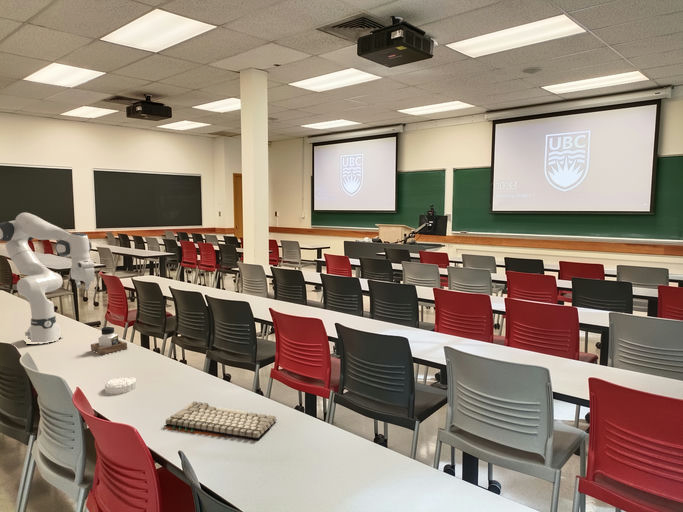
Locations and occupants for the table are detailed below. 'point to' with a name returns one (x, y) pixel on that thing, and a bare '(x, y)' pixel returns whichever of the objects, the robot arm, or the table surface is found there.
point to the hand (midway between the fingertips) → (83, 288)
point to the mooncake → (120, 385)
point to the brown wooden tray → (109, 348)
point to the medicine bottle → (108, 337)
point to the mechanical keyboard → (220, 422)
